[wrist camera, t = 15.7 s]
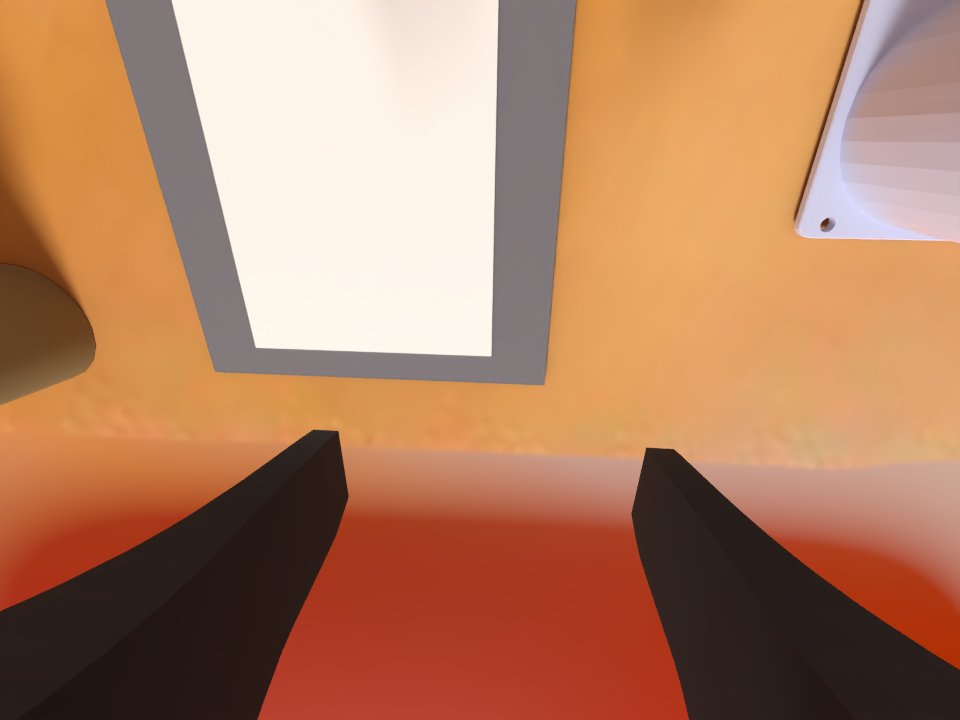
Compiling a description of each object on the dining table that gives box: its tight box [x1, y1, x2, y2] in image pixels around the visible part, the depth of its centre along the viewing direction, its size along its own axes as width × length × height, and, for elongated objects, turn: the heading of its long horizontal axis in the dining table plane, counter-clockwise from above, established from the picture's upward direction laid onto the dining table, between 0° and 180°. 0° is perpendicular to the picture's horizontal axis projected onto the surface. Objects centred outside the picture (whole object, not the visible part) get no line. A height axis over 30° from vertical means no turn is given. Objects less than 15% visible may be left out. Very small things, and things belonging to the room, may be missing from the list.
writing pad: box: [105, 0, 576, 385], centre depth 18 cm, size 16×16×1 cm
